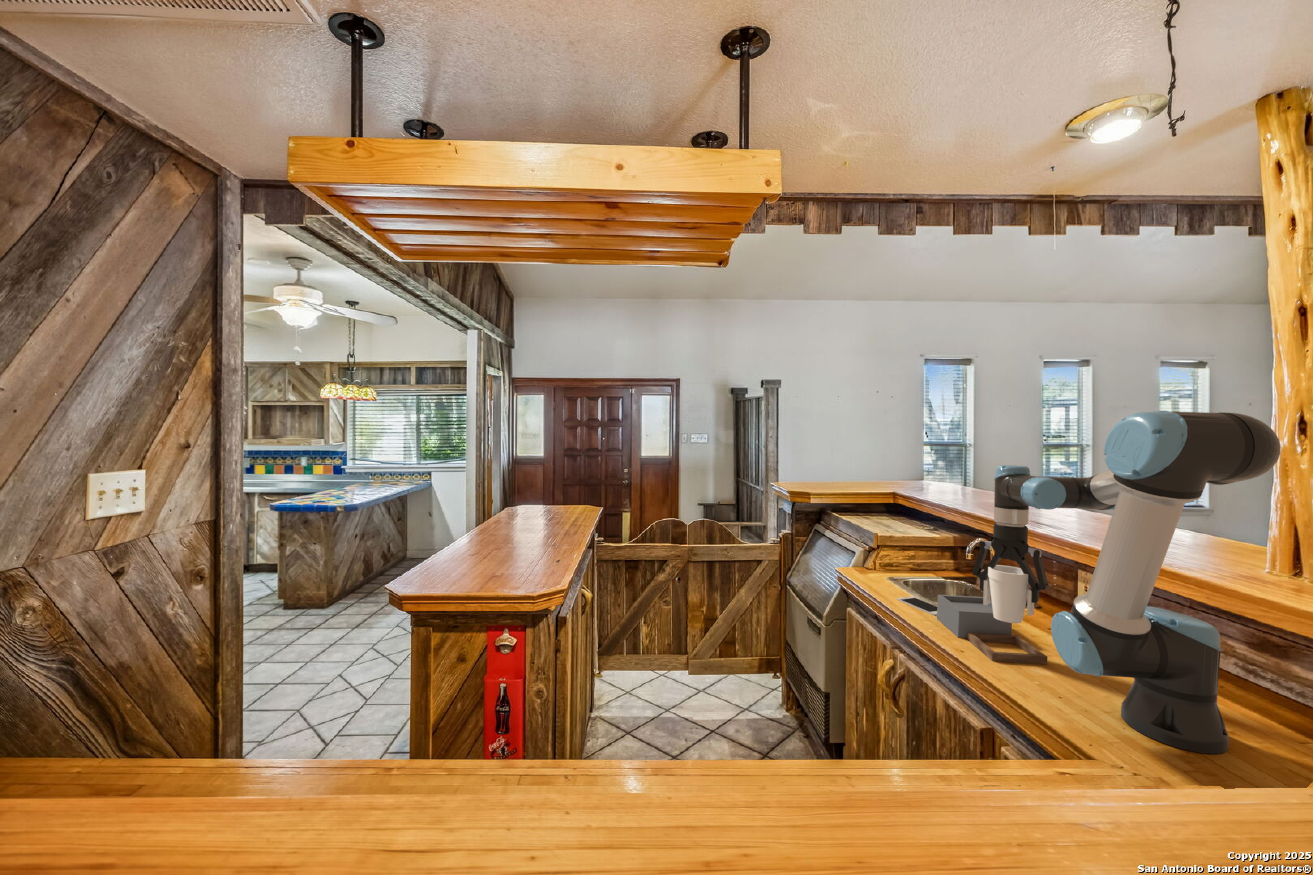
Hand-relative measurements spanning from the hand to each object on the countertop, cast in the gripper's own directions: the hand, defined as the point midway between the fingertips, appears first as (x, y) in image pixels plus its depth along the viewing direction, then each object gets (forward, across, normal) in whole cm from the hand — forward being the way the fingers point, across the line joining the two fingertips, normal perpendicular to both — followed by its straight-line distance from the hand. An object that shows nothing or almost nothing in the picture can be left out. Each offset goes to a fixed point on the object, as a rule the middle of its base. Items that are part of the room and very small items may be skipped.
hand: (1007, 608), depth 137 cm
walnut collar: (+12, 0, 0) cm, 12 cm away
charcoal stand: (+11, +12, -10) cm, 19 cm away
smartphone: (+12, +30, -17) cm, 36 cm away
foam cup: (+3, 0, 0) cm, 3 cm away
